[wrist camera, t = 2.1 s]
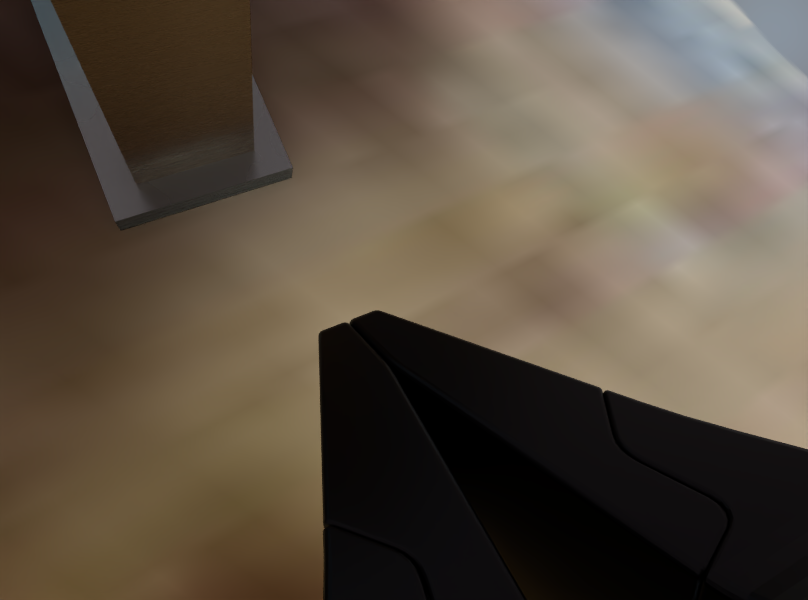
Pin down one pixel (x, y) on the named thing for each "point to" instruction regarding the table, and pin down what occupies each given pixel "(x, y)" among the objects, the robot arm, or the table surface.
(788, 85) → the table surface
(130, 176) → the sweeper
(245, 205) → the table surface
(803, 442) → the table surface
